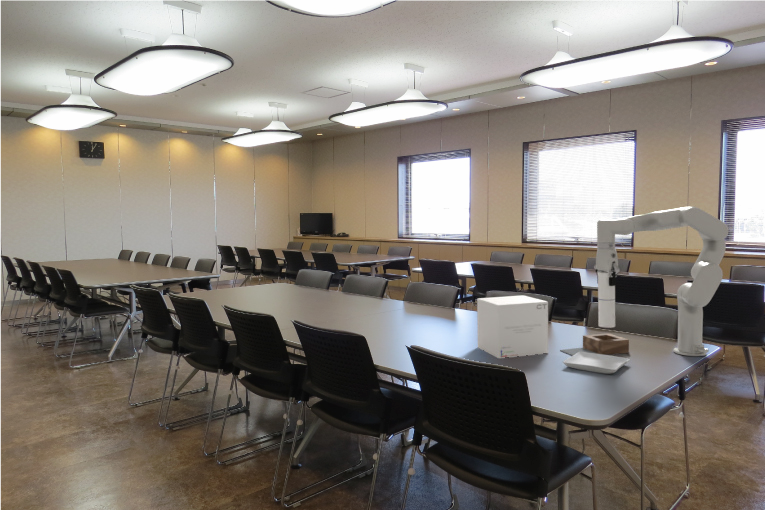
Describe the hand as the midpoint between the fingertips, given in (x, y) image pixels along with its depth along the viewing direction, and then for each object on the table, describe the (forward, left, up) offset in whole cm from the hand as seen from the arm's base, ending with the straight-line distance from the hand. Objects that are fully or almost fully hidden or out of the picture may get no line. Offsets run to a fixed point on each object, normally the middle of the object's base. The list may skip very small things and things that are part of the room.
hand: (606, 284), depth 241 cm
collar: (0, 0, -31) cm, 31 cm away
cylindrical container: (0, 0, -20) cm, 20 cm away
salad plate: (-21, +21, -31) cm, 43 cm away
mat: (0, +14, -31) cm, 34 cm away
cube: (+15, +40, -31) cm, 53 cm away
